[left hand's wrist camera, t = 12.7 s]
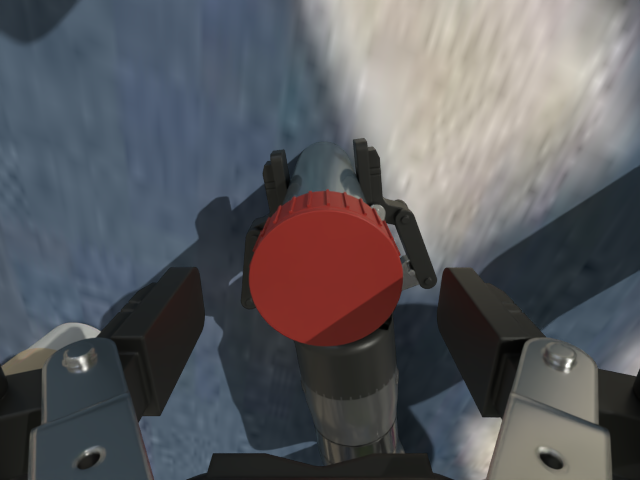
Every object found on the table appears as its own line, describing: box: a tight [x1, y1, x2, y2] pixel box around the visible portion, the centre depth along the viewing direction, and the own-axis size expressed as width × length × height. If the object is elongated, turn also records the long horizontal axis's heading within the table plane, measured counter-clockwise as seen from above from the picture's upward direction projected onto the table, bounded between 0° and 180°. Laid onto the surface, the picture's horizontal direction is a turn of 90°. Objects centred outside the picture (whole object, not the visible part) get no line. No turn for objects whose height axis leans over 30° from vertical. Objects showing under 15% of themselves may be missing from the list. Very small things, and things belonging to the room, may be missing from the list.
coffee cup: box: [1, 323, 101, 376], centre depth 29 cm, size 9×9×15 cm
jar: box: [282, 142, 367, 206], centre depth 21 cm, size 4×4×18 cm
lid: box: [249, 189, 403, 346], centre depth 13 cm, size 5×5×2 cm
